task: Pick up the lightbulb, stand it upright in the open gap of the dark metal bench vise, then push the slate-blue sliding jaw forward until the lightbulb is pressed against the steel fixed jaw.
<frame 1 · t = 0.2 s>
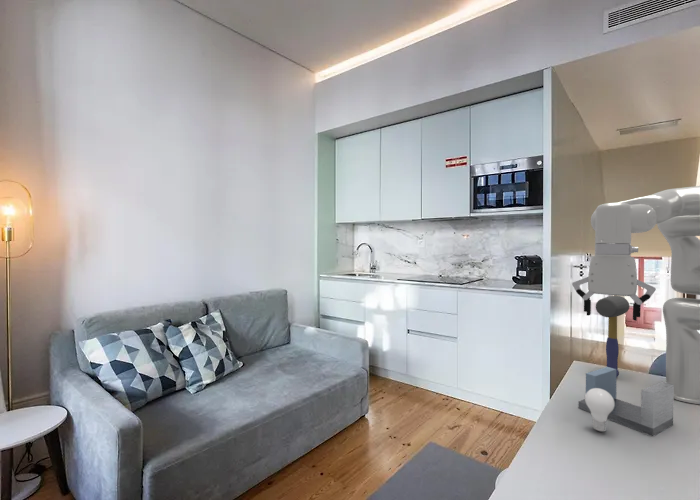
hand: (610, 317, 92), 30 cm above the table, tool pointing down, fingers open, 9 cm apart
vise base: (623, 416, 101), on the table
vise jaw: (601, 386, 106), point 7 cm above the table, slide at 0.0 cm
rubber mallet: (611, 378, 131), on the table
lightbulb: (599, 431, 93), on the table
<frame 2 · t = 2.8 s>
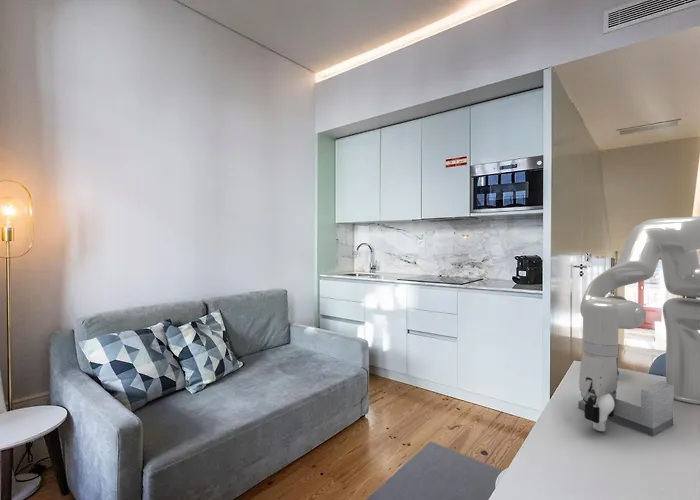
hand: (599, 417, 92), 4 cm above the table, tool pointing down, fingers closed on lightbulb, 6 cm apart
lightbulb: (599, 431, 93), on the table, touching gripper
everything else where it was.
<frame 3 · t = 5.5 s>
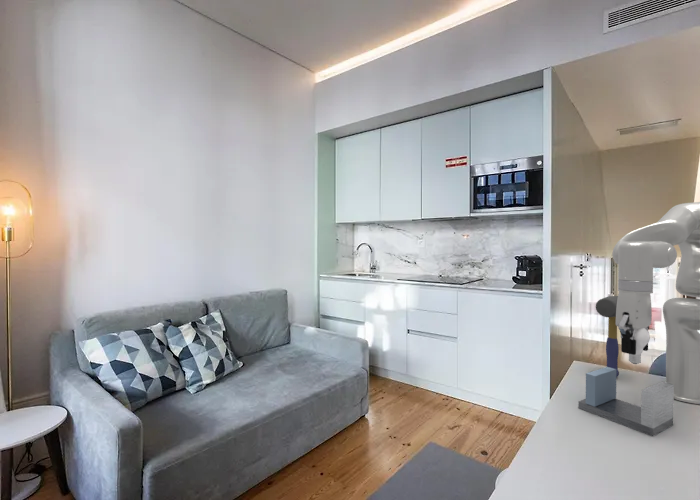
hand: (634, 350, 98), 19 cm above the table, tool pointing down, fingers closed on lightbulb, 6 cm apart
lightbulb: (634, 364, 98), point 15 cm above the table, touching gripper
everything else where it was.
when the fingers open (6 cm above the table, at t = 8.4 s): lightbulb stays where it is, resting on vise base.
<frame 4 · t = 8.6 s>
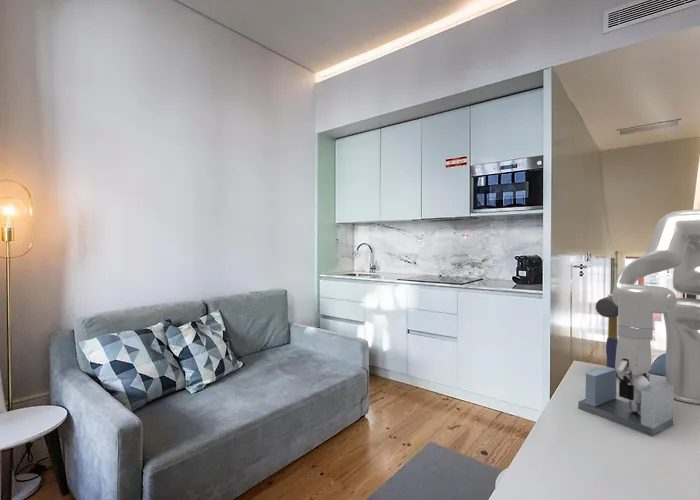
hand: (634, 394, 98), 7 cm above the table, tool pointing down, fingers open, 8 cm apart
lightbulb: (635, 412, 99), point 2 cm above the table, touching vise base
everything else where it was.
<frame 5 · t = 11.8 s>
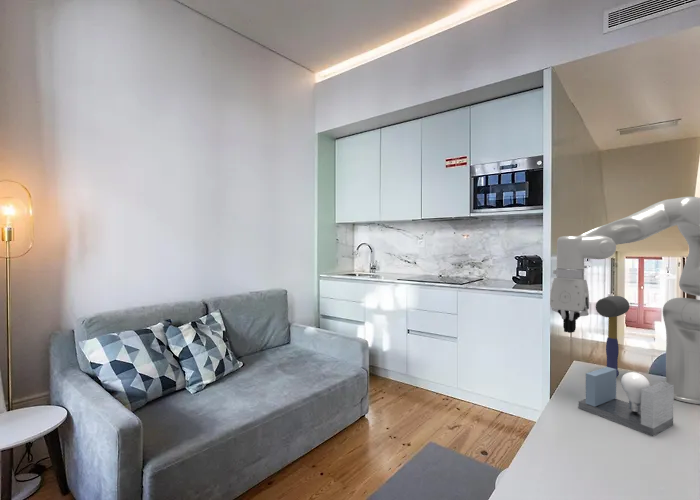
hand: (569, 331, 114), 21 cm above the table, tool pointing down, fingers closed
nothing on the table moved.
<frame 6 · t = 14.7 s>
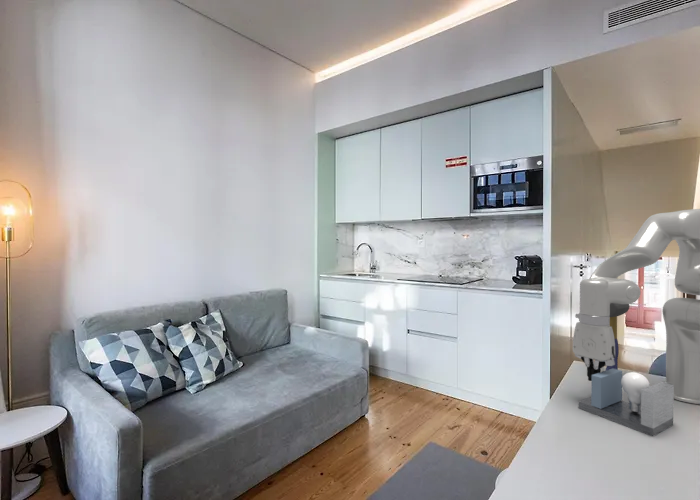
hand: (593, 380, 108), 8 cm above the table, tool pointing down, fingers closed
vise jaw: (607, 387, 104), point 7 cm above the table, slide at 1.6 cm, touching gripper
everything else where it was.
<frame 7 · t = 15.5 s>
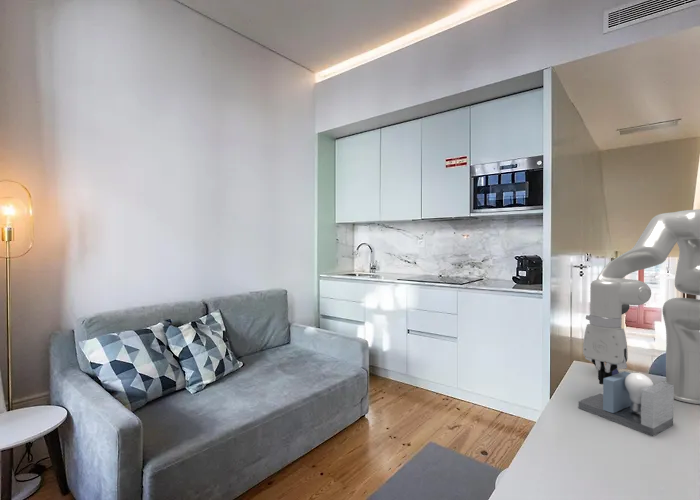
hand: (604, 383, 105), 8 cm above the table, tool pointing down, fingers closed
vise jaw: (619, 391, 102), point 7 cm above the table, slide at 4.6 cm, touching gripper, lightbulb
lightbulb: (635, 412, 99), point 2 cm above the table, touching vise base, vise jaw
everything else where it was.
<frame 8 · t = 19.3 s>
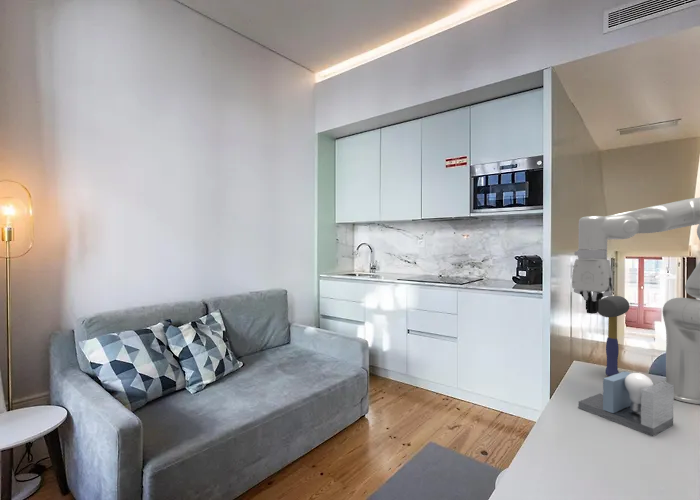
hand: (591, 312, 112), 27 cm above the table, tool pointing down, fingers closed
vise jaw: (619, 391, 102), point 7 cm above the table, slide at 4.6 cm, touching lightbulb
everything else where it was.
at the end: vise jaw slide at 4.6 cm; lightbulb 0.9 cm from the target spot on the vise base, point 1.9 cm above the vise base's base; lightbulb tilted 6° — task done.
